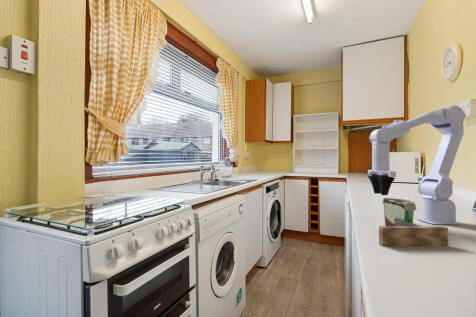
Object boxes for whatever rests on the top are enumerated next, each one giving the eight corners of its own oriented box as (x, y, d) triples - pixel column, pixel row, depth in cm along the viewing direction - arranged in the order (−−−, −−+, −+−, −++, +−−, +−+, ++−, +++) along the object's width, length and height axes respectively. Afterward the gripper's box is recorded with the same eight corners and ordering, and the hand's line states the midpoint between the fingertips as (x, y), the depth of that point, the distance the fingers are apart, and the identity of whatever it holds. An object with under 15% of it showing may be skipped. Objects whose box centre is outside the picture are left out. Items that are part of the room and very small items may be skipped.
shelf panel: (443, 244, 65) (443, 226, 65) (448, 246, 63) (447, 228, 63) (378, 243, 65) (378, 226, 65) (382, 245, 63) (382, 227, 63)
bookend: (397, 233, 75) (397, 217, 75) (421, 244, 65) (421, 226, 65) (378, 232, 75) (378, 217, 75) (400, 244, 65) (400, 226, 65)
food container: (426, 236, 71) (426, 204, 72) (406, 236, 72) (406, 204, 72) (399, 225, 84) (399, 197, 84) (382, 225, 84) (382, 197, 84)
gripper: (360, 159, 97) (360, 191, 97) (382, 159, 83) (382, 197, 83) (377, 159, 97) (377, 191, 97) (401, 159, 83) (401, 197, 83)
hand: (380, 194), depth 90 cm, fingers open, 4 cm apart
